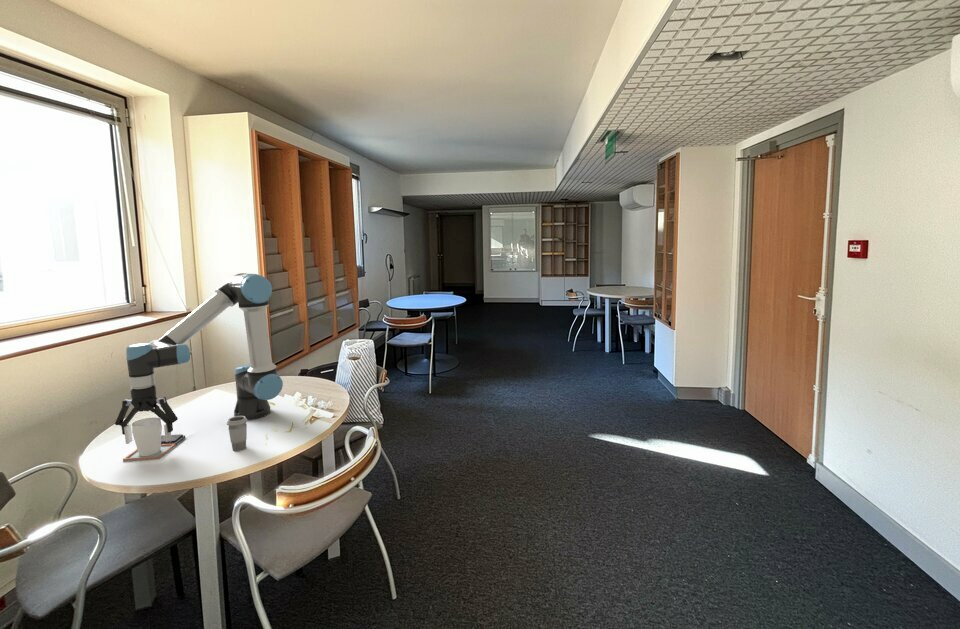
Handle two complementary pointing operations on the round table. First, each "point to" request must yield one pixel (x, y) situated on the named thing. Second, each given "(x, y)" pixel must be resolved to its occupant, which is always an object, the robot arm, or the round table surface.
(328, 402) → the round table surface
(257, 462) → the round table surface
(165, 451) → the print frame
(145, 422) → the cup
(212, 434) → the round table surface
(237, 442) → the cup
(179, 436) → the ink pad
